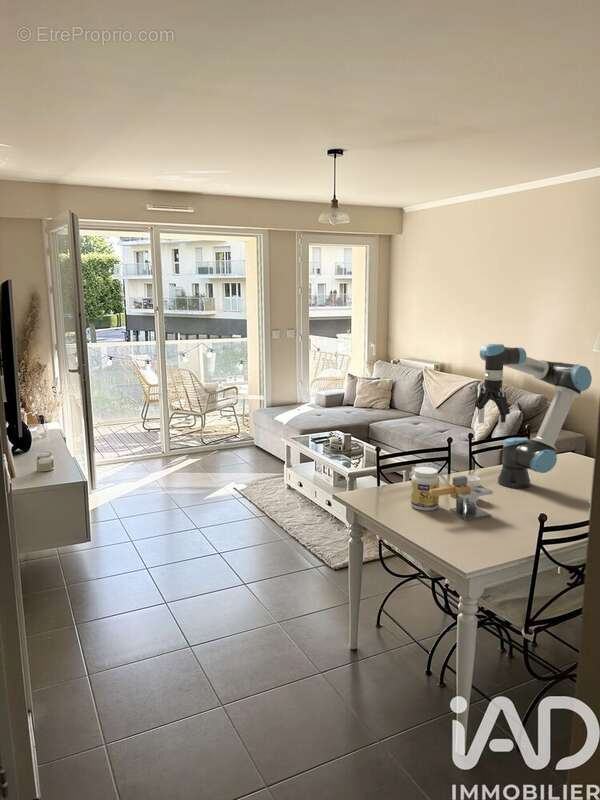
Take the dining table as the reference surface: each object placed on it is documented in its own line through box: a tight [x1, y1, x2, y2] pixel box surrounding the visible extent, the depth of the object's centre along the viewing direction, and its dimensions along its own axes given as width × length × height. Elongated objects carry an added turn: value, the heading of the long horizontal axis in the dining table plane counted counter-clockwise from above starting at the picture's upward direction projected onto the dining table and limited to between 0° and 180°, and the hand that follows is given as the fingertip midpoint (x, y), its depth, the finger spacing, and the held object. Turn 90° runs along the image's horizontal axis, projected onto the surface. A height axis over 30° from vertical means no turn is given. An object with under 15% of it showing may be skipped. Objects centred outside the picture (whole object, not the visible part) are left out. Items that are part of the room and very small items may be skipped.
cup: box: [463, 474, 481, 502], centre depth 273 cm, size 8×12×10 cm
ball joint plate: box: [445, 482, 494, 522], centre depth 253 cm, size 15×12×12 cm
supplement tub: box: [410, 466, 440, 512], centre depth 261 cm, size 12×12×17 cm
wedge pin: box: [452, 475, 467, 516], centre depth 250 cm, size 6×3×16 cm, turn 112°
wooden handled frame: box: [429, 483, 471, 500], centre depth 248 cm, size 17×6×5 cm, turn 112°
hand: (490, 426), depth 265 cm, fingers open, 13 cm apart
